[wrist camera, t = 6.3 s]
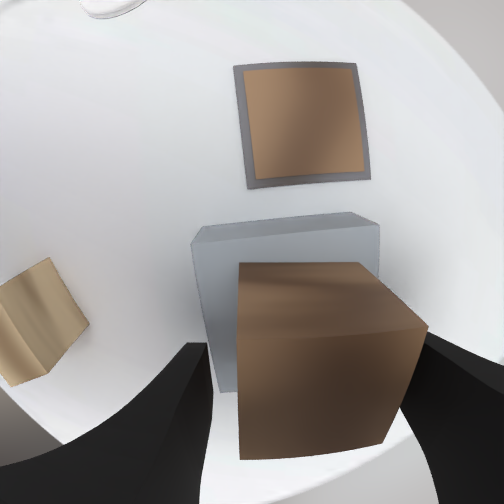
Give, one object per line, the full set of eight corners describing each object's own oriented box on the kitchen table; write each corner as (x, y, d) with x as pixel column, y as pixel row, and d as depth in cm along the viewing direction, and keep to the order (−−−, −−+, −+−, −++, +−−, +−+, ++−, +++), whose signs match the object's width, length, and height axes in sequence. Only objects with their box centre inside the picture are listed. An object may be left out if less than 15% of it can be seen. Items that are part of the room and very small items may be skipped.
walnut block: (239, 363, 12) (240, 459, 7) (239, 262, 11) (236, 339, 6) (342, 358, 12) (382, 443, 7) (358, 262, 11) (428, 326, 6)
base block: (224, 350, 16) (219, 392, 12) (203, 225, 14) (190, 244, 10) (347, 334, 16) (368, 372, 12) (348, 210, 14) (379, 224, 10)
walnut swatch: (247, 188, 13) (247, 189, 13) (233, 67, 11) (233, 64, 11) (369, 179, 13) (372, 179, 12) (354, 64, 11) (357, 62, 11)
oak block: (49, 343, 15) (11, 387, 10) (13, 286, 14) (-34, 319, 9) (90, 323, 15) (48, 373, 10) (49, 256, 14) (-6, 290, 9)
